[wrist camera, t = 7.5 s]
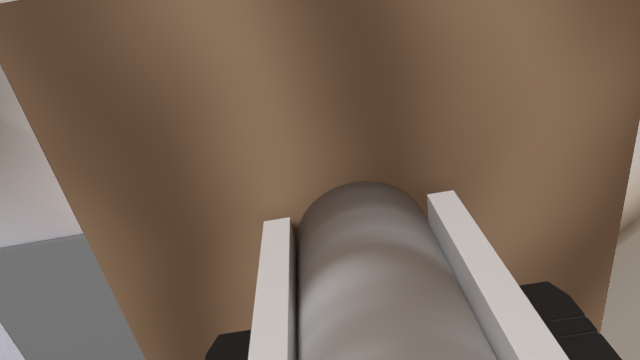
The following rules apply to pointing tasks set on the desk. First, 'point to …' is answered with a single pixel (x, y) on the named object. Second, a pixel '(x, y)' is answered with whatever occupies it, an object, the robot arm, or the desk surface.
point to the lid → (331, 155)
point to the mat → (61, 303)
